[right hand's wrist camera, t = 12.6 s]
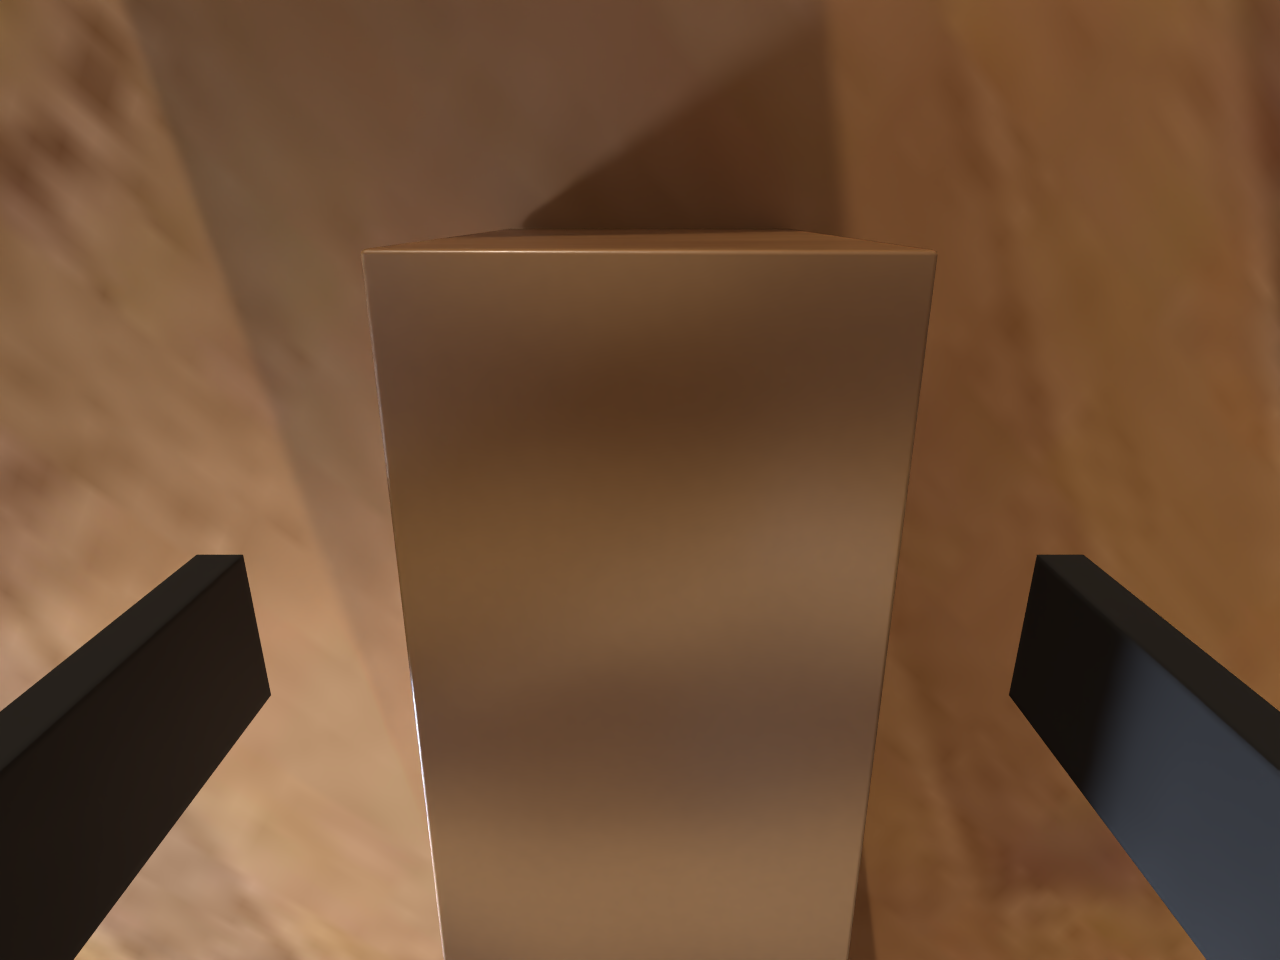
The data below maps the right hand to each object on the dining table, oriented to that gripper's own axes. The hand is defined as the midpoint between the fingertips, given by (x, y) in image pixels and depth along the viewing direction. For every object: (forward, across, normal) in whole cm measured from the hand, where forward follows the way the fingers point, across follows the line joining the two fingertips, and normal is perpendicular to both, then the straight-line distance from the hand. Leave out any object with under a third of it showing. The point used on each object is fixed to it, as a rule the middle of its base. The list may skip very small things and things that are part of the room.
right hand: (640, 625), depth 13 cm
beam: (+5, 0, -34) cm, 35 cm away
